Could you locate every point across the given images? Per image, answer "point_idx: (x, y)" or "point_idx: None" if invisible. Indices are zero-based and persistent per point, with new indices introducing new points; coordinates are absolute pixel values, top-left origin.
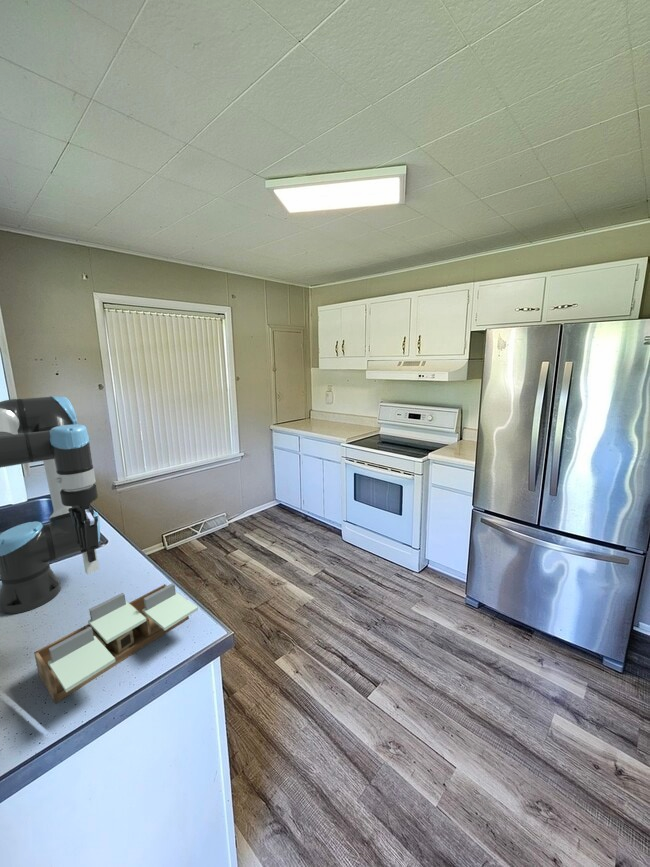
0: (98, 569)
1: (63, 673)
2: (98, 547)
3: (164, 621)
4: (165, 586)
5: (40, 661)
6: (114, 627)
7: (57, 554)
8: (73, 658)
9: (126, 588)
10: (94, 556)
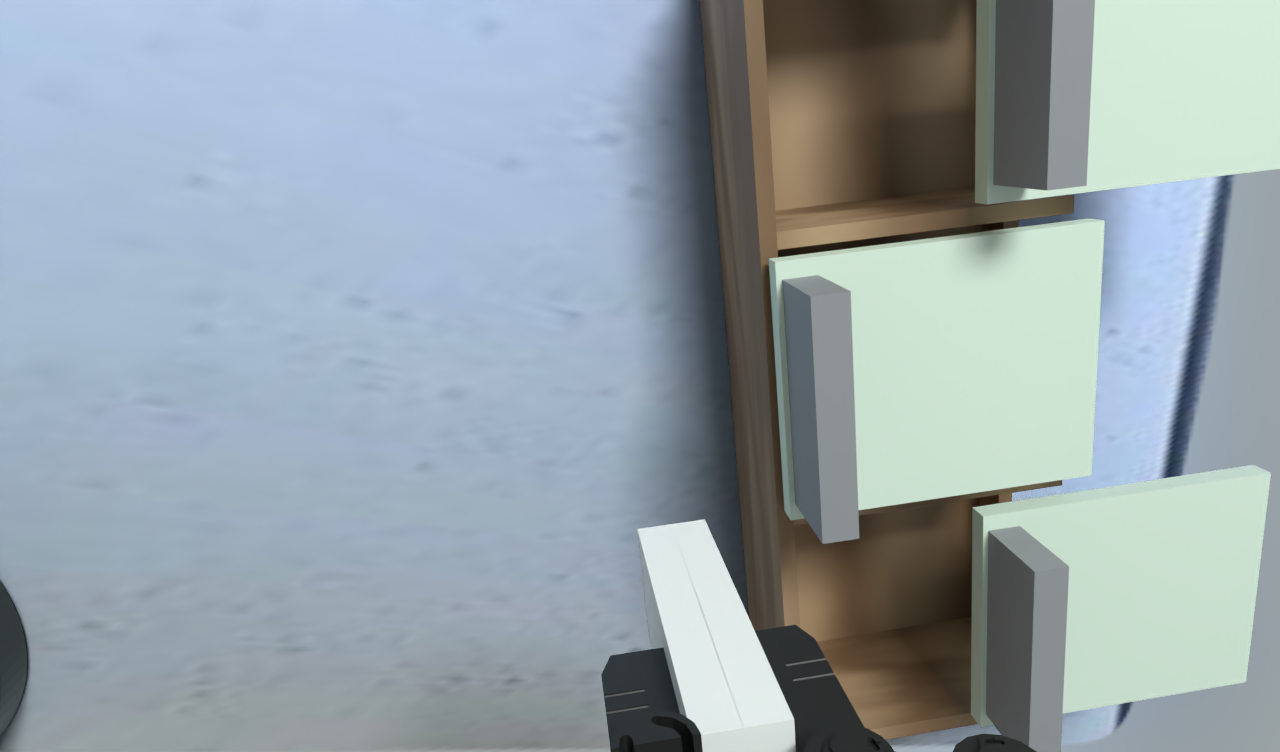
0: (705, 526)
1: (1137, 679)
2: (1024, 745)
3: (1254, 136)
4: None
5: (899, 735)
6: (1012, 410)
7: None
8: (1071, 631)
9: (198, 96)
10: (829, 678)
